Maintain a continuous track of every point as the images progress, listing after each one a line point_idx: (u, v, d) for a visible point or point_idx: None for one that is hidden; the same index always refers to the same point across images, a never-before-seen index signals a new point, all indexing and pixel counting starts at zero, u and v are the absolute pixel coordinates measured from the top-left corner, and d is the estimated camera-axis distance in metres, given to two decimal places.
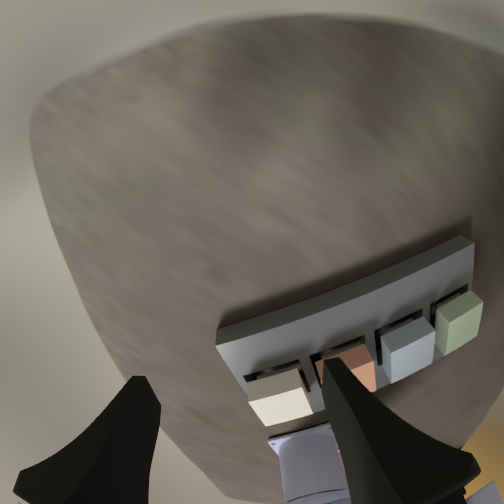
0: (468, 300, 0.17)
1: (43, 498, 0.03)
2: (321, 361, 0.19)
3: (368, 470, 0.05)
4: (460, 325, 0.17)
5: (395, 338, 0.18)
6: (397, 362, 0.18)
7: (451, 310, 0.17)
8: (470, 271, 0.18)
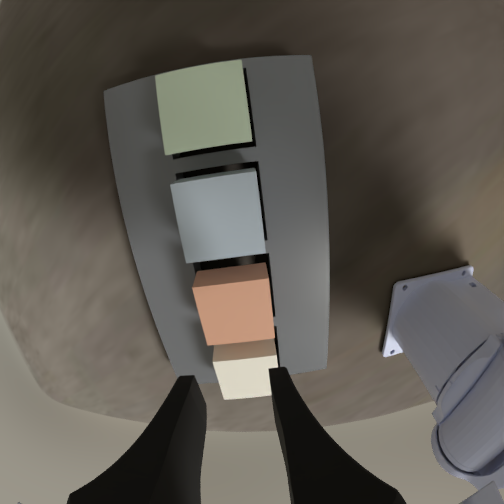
0: None
1: None
2: None
3: (290, 487, 0.05)
4: (184, 122, 0.11)
5: None
6: (213, 249, 0.14)
7: None
8: (144, 84, 0.13)
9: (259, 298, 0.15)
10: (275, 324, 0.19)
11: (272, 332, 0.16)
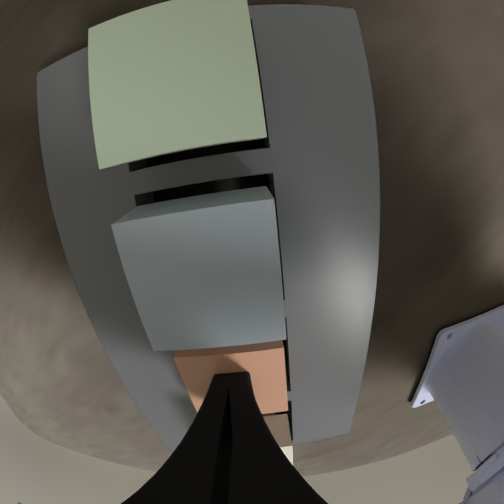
0: None
1: None
2: None
3: None
4: (132, 102, 0.05)
5: None
6: (195, 334, 0.08)
7: None
8: None
9: (269, 371, 0.10)
10: (290, 399, 0.12)
11: (285, 405, 0.11)
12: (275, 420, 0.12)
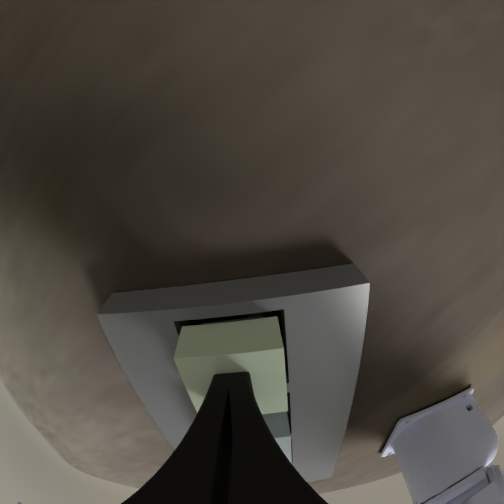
0: None
1: None
2: None
3: None
4: None
5: None
6: None
7: None
8: (149, 319, 0.11)
9: None
10: None
11: None
12: None
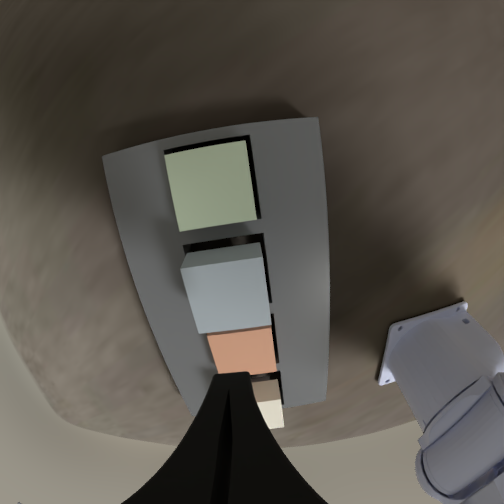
0: None
1: None
2: None
3: None
4: (195, 202, 0.14)
5: None
6: (223, 323, 0.14)
7: None
8: (144, 151, 0.13)
9: (263, 342, 0.17)
10: (279, 369, 0.19)
11: (274, 367, 0.18)
12: (269, 383, 0.19)
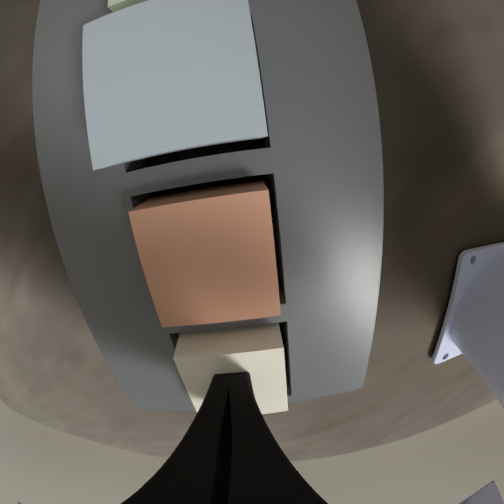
0: None
1: None
2: None
3: None
4: None
5: None
6: (146, 131, 0.05)
7: None
8: None
9: (250, 231, 0.08)
10: (285, 318, 0.10)
11: (276, 303, 0.09)
12: None
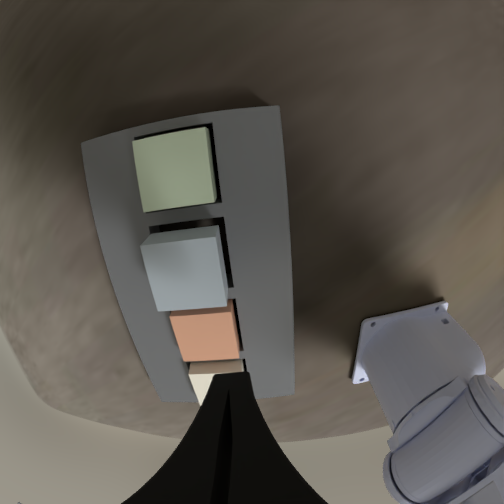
0: None
1: None
2: None
3: None
4: (158, 184, 0.14)
5: None
6: (180, 301, 0.15)
7: None
8: (117, 138, 0.14)
9: (224, 326, 0.17)
10: (244, 357, 0.20)
11: (236, 353, 0.18)
12: None
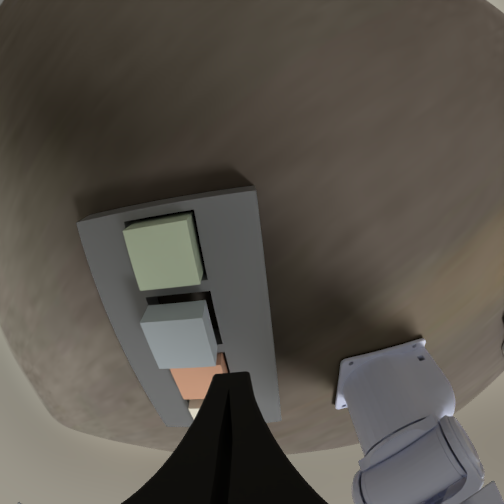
0: None
1: None
2: None
3: None
4: (150, 269, 0.16)
5: None
6: (177, 362, 0.17)
7: None
8: (109, 221, 0.16)
9: None
10: None
11: None
12: None
